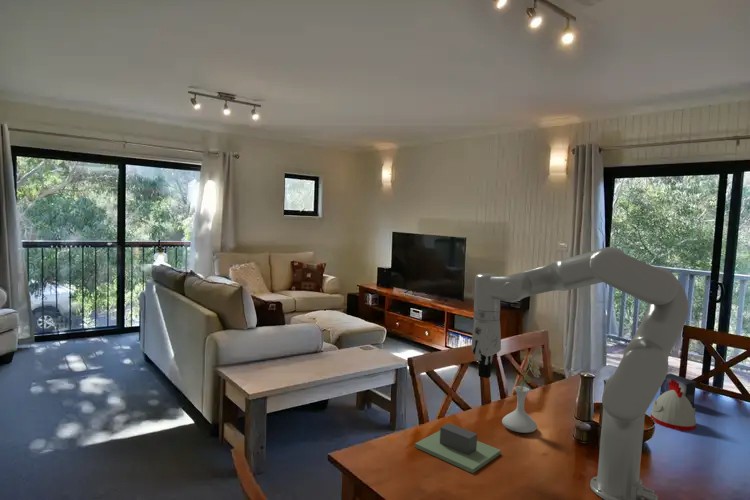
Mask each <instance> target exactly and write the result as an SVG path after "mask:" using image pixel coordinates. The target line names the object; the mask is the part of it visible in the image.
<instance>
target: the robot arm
mask: <svg viewBox="0 0 750 500" xmlns="http://www.w3.org/2000/svg"><path fill="white" fill-rule="evenodd" d="M600 283H604V284H607V285H608V286H610V287H612V288H614V289H616V290H618V291H621V292H623V293H625V294H627V295H629V296H631V297H633V298H634V299H637V300H640V301H642V302H643V303H646V304H648V305H647V309H646V311H645V314H644V316H643V318H642V320H641V323H640V324H639V326H638V327H637V329H636V332H635V333H634V334H633V337H632V339H631V340H630V341H629V343H628V344H627V345H626V347H625V348H624V351H623V355H622V358H621V360H620V362H619V363H618V366H617V368H616V369H615V371H614V373H613V374H611V376H609V377H608V379H606V381H605V385H604V388H603V392H602V397H601V398H602V399H601V401H602V403H601V404H602V408H603V410H602V418H601V419H602V420H601V421H602V422H601V429H600V440H599V441H600V442H599V443H600V444H599V455H598V464H597V466H598V467H597V475H596V476H593V477H592V478H591V480H590V485H589V486H590V488H591V490H592V492H593V493H594V494H596V495H597V497H600V498H601V499H603V500H658V498H659V497H658V495H657V494H655V490H653V489H651V488H649V487H645V485H643V479H642V478H640V472H641V461H642V460H641V459H642V449H643V440H644V430H645V417H646V412H647V411H648V409H649V408H650V405H651V404H652V403H653V401H654V400H655V397H656V396H657V394H658V392H659V391H660V390H661V385H662V383H663V381H664V379H665V377H666V375H667V374H668V372H669V357H670V354H671V352H672V350H673V348H674V346H675V344H677V341H678V339H679V336H680V334H681V333H682V331H683V329H684V326H685V324H686V323H687V318H688V313H689V302H688V297H687V294H686V293H687V292H686V291H685V288H684V286H683V285H682V283H681V282H680V281H679V279H678V278H677V277H676V276H675V275H674V273H673V272H671V271H670V270H668V269H667V268H665V267H661V266H654V265H651V264H649V263H646V262H645V261H642V260H639V259H638V258H635V257H633V256H630V255H628V254H627V253H625V252H624V251H623V250H621V249H620V248H618V247H614V246H607V247H603V248H599V249H596V250H591V251H587V252H584V253H582V254H578V255H577V254H576V255H574V256H569V257H565V258H563V259H559V260H556V261H553V262H551V263H548V264H546V265H543V266H539V267H537V268H532V269H529V270H524V271H521V272H517V273H514V274H509V275H504V276H503V275H502V276H501V275H499V274H496V273H488V272H486V273H485V272H484V273H477V274H476V275H475V277H474V292H473V295H474V296H473V327H472V335H471V353H472V354H473V355H474V361H475V360H476V361H477V363H478V373H477V374H478V375H477V376H478V377H480V378H484V379H489V378H491V375H492V364H493V363H492V362H493V357H494V355H495V354H498V353H499V352H501V349H502V336H501V334H502V332H501V330H502V329H501V321H500V319H501V318H500V315H501V301H503V302H507V303H516V302H519V301H521V300H523V299H525V298H528V297H532V296H536V295H539V294H544V293H548V292H555V291H562V292H566V291H571V290H576V289H579V288H584V287H588V286H592V285H597V284H600Z"/></svg>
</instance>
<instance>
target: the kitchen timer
mask: <svg viewBox="0 0 750 500" xmlns="http://www.w3.org/2000/svg"><path fill="white" fill-rule="evenodd" d="M669 390H670V391H667V392H665V393H663V394H662V395H661V396H660V395H659V396H658V398H656V399H653V401H652V405H651V407H652V408H651V411H650V419H651V418H653V420H654V421H653V423H655V424H656V425H659V426H662V427H664V428H668V429H670V430H675V431H682V432H683V431H684V432H685V431H686V432H691V431H695V429H696V426H697V420H696V407H692V405H691V403H690V402H689V400H688V399H687V398H686V396H684V395H683V392H680V391H681V388H680V387H679V383H677V382H674V380H671V382H669Z"/></svg>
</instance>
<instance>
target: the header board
mask: <svg viewBox="0 0 750 500" xmlns="http://www.w3.org/2000/svg"><path fill="white" fill-rule="evenodd" d="M414 448H416V449H417V450H420V451H422V452H424V453H425V454H428V455H431V456H433V457H435V458H438V459H440V460H442V461H444V462H447V463H449V464H451V465H453V466H455V467H457V468H460V469H462V470H464V471H466V472H468V473H471V474H474V473H476V472H477V471H479V470H480V469H482V468H483V467H484V466H487V464H489V463H490V462H491V461H494V459H496V458H497V457H498V456H499V455H501V453H502V452H501V449H499V448H497V447H494V446H492V445H489V444H486V443H484V442H481V441H479V440H477V447H476V451H474V452H473V453H471V454H470V455H466V454H464V453H461V452H459V451H457V450H454V449H452V448H450V447H447V446H445V445H443V444H440V430H438V431H436V432H434V433H432V434H431V435H429V436H427V437H424V438H421V440H419V441H417V442H415V443H414Z"/></svg>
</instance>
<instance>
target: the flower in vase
mask: <svg viewBox="0 0 750 500" xmlns="http://www.w3.org/2000/svg"><path fill="white" fill-rule="evenodd" d="M527 363H528V370H527V371H526V373H525V375H524V377H523V380H521V379H520V380H519V382H518V384H519V385H517V386H514V388H513V389H514V390H515V394H516V396H517V397H516V398H517V402H516V403H517V404H516V408H515V409H514V410H513V411H511V412H509V413H507V414H506V415H505V416H504V417H503V418H502V420H501V423H502V425H503V426H504V427H505V428H507V429H508V430H510V431H512V432H517V433H522V434H523V433H524V434H528V433H533V432H535V431H536V430H537V428H538V425H537V423H536V421H535V420H534V419H533V418H532V417H531V416H530V415H529V414H528V413H527V412H526V411H525V400H526V397H527V395H528V393H529V392H530V389H529V388H528V387H526V386H524V385H525V384H527V383H528V384H530V383H531V376H529V375H527V374H528V373H529V371H531V373H532V375H533V377H535V378H536V379H537V378H540V376H541V375H542V374H541V372H540V366H539V365H538V363H537V359H536V358H534V357H533V354H528V356H527ZM520 385H521V386H520Z"/></svg>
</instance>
